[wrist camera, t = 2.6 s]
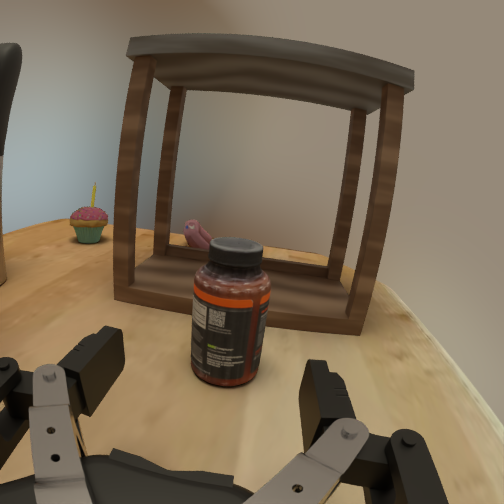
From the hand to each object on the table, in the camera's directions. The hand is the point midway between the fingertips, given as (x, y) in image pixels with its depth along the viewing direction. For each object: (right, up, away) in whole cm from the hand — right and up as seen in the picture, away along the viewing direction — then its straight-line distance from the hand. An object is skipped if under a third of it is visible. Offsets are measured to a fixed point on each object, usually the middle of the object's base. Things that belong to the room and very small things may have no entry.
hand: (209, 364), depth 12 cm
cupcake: (-32, +7, +44) cm, 55 cm away
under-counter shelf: (0, -1, +30) cm, 30 cm away
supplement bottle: (-1, -6, +13) cm, 15 cm away
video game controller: (-9, +5, +50) cm, 51 cm away
